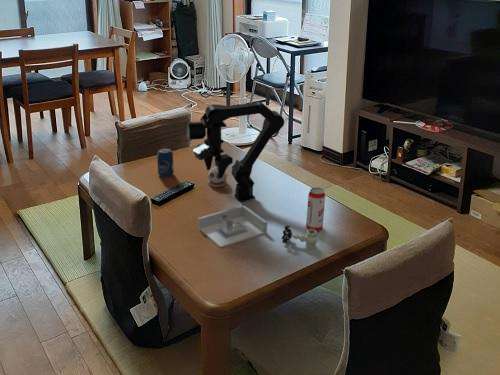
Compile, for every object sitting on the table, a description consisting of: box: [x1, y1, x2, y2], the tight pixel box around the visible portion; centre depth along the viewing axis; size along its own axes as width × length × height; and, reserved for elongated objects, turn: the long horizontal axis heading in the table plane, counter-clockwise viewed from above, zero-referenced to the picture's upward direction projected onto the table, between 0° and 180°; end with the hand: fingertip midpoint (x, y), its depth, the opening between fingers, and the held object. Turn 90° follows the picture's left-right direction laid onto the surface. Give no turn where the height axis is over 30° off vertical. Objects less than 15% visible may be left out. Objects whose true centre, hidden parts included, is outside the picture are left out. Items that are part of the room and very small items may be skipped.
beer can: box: [305, 187, 326, 233], centre depth 214 cm, size 6×6×16 cm
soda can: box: [156, 147, 175, 179], centre depth 256 cm, size 7×7×12 cm
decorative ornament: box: [207, 165, 228, 188], centre depth 248 cm, size 8×8×15 cm
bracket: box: [220, 215, 245, 236], centre depth 212 cm, size 8×5×6 cm, turn 124°
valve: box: [281, 225, 318, 251], centre depth 205 cm, size 7×7×12 cm
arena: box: [197, 204, 268, 248], centre depth 214 cm, size 20×16×5 cm
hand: (214, 173), depth 232 cm, fingers open, 9 cm apart
